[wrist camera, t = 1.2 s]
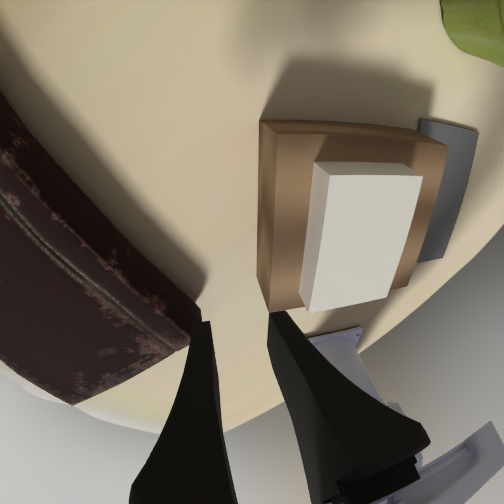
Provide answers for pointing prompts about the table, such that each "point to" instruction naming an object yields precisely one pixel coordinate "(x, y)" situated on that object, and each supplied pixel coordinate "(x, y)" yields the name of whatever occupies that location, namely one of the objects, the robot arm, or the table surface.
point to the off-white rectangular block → (355, 231)
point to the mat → (447, 184)
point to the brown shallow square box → (299, 191)
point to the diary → (74, 282)
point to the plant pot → (476, 27)
